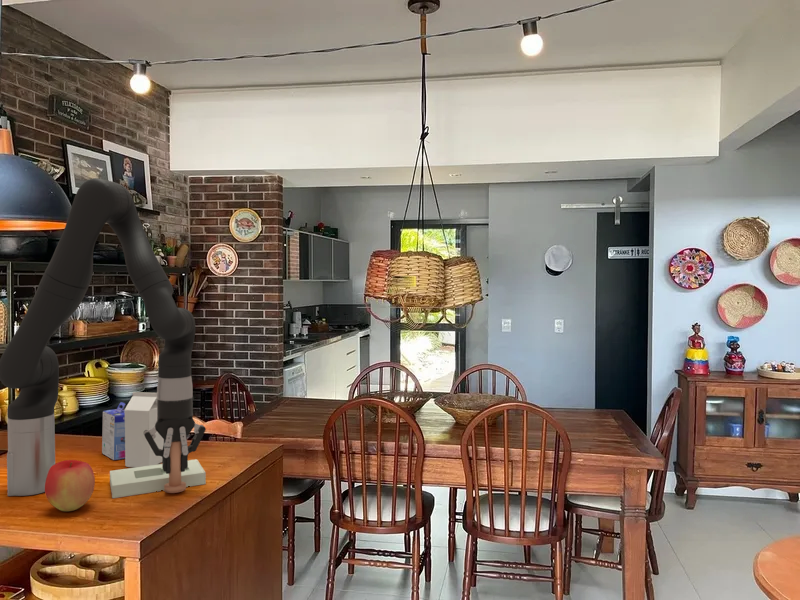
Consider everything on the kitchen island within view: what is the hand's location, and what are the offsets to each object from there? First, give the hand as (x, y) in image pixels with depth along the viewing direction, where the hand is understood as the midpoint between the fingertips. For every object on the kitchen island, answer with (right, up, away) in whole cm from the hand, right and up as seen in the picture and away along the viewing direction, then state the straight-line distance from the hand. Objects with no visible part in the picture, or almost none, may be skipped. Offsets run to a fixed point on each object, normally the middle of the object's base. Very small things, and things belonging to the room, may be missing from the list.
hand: (175, 471), depth 136 cm
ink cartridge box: (-27, -4, +30) cm, 40 cm away
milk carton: (-16, -4, +22) cm, 28 cm away
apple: (-18, -5, -10) cm, 21 cm away
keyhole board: (-7, -5, +7) cm, 10 cm away
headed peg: (0, -4, 0) cm, 4 cm away
